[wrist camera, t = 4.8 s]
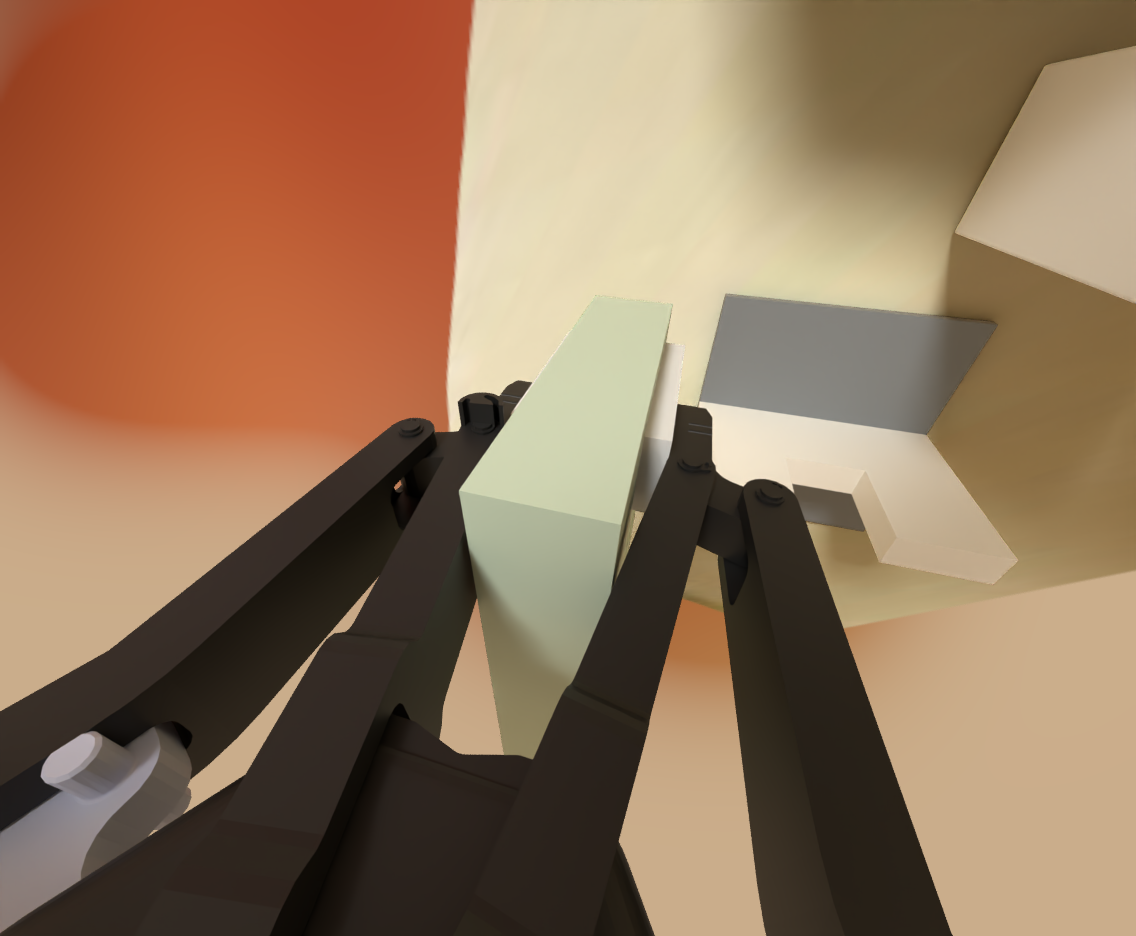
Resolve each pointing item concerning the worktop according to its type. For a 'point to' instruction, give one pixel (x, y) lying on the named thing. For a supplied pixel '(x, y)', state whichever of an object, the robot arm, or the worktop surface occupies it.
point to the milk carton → (1068, 176)
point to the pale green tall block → (560, 508)
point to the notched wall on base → (852, 424)
